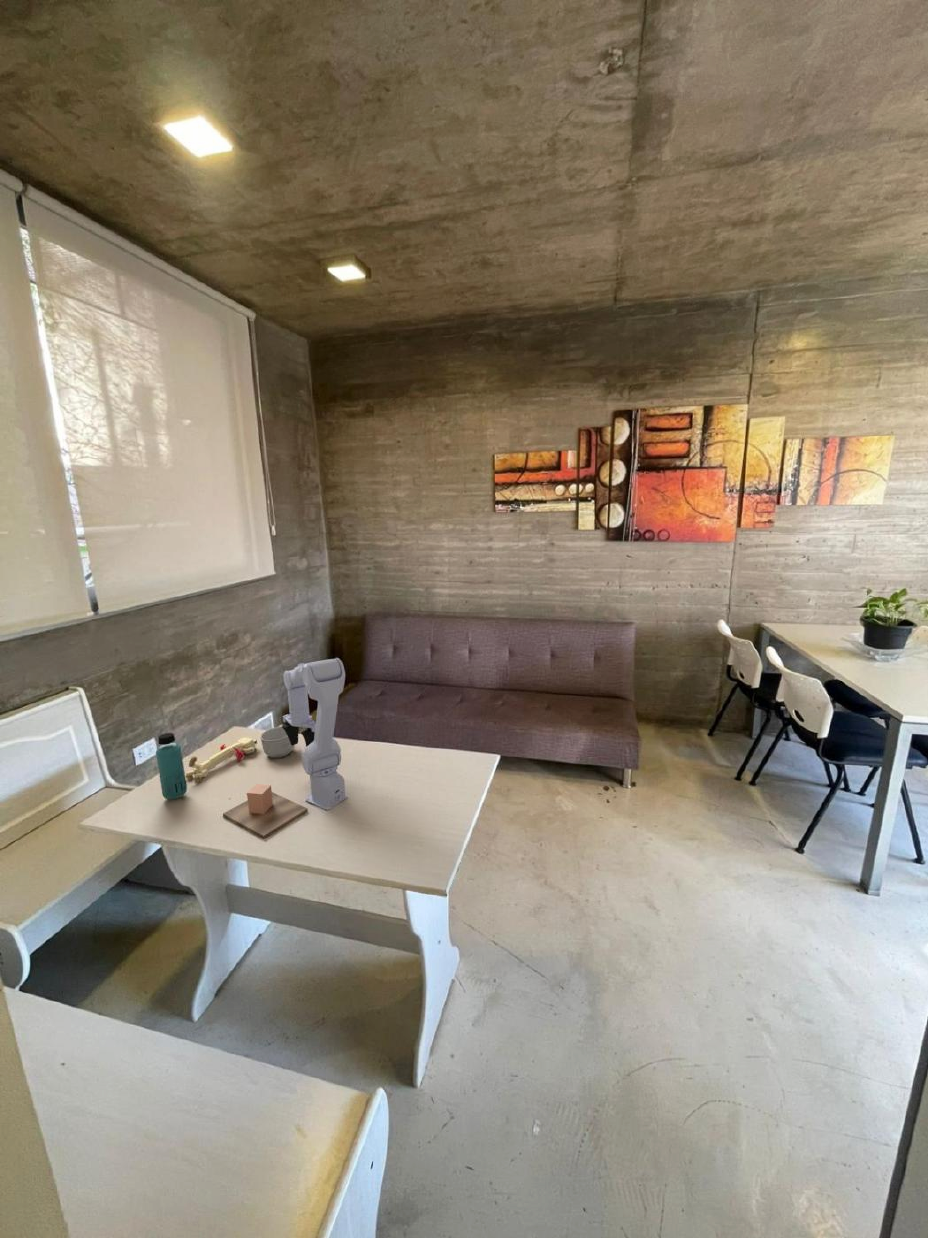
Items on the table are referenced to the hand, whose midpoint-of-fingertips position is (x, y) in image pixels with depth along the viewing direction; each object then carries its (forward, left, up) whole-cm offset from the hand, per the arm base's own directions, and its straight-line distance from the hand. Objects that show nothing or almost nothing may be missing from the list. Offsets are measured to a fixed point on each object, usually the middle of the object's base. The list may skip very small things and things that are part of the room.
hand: (302, 747), depth 154 cm
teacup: (+20, -6, -10) cm, 23 cm away
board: (-8, +20, -9) cm, 24 cm away
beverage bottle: (+22, +29, -10) cm, 38 cm away
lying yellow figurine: (+29, +9, -10) cm, 32 cm away
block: (-6, +20, -8) cm, 22 cm away
